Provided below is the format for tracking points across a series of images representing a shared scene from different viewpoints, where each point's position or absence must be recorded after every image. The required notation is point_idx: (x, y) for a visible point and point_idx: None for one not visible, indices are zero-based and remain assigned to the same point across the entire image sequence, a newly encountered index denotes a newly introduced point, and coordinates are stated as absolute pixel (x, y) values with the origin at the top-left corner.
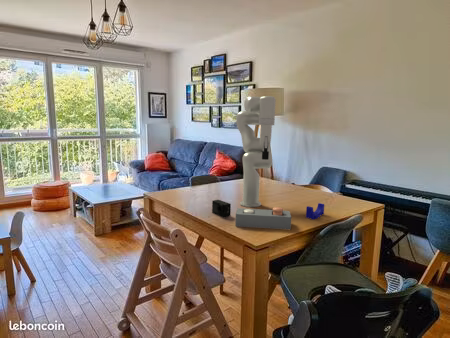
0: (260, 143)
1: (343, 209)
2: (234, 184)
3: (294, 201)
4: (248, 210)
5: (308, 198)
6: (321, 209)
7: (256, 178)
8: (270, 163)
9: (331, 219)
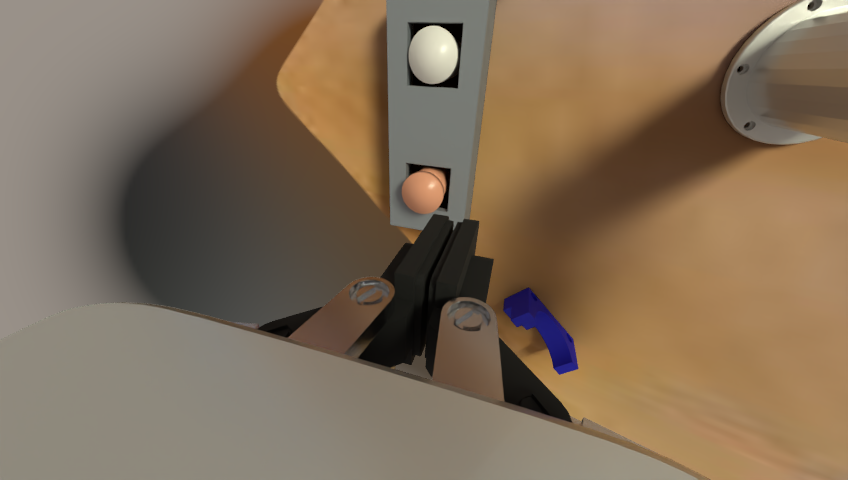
0: (37, 323)
1: (609, 416)
2: None
3: (790, 323)
4: (437, 54)
5: (829, 395)
6: (550, 351)
7: None
8: None
9: (505, 343)
